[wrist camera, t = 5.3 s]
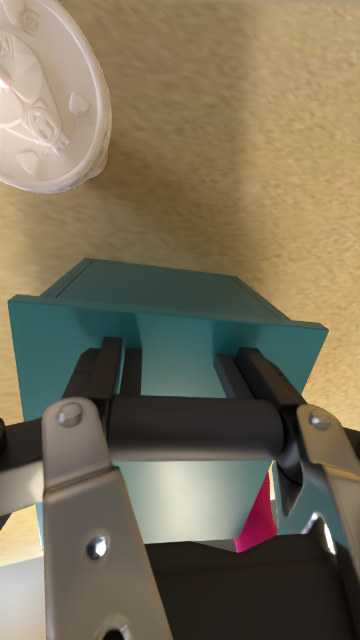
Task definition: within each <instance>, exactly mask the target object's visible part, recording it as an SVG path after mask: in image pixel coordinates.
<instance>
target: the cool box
mask: <svg viewBox="0 0 360 640" xmlns="http://www.w3.org/2000/svg"><path fill="white" fill-rule="evenodd" d="M40 296H41V297H51V298H62V299H72V300H83V301H93V302H104V303H115V304H125V305H136V306H146V307H157V308H167V309H178V310H188V311H199V312H209V313H220V314H231V315H241V316H252V317H262V318H273V319H283V320H290V319H289V318H288V317H287V316H285V315H284V314H283V313H282V312H280V311H279V310H278V309H277V308H275V307H274V306H273V305H272V304H270V303H269V302H268V301H267V300H265V299H264V298H263V297H262V296H260V295H259V294H258V293H257V292H255V291H254V290H253V289H252V288H250V287H249V286H248V285H247V284H245V283H244V282H243V281H242V280H240V279H239V278H238V277H237V276H229V275H221V274H213V273H204V272H196V271H188V270H180V269H172V268H164V267H155V266H147V265H139V264H131V263H123V262H114V261H106V260H98V259H90V258H84V259H83V260H82V261H81V262H79V263H78V264H77V265H76V266H75V267H73V268H72V269H71V270H70V271H69V272H67V273H66V274H65V275H64V276H63V277H61V278H60V279H59V280H58V281H57V282H56V283H54V284H53V285H52V286H51V287H50V288H48V289H47V290H46V291H45V292H44V293H42V294H41V295H40Z"/></svg>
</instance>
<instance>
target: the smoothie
mask: <svg viewBox="0 0 360 640" xmlns="http://www.w3.org/2000/svg"><path fill="white" fill-rule="evenodd" d="M111 123H112V111H111V104H110V96H109V89H108V86H107V84H106V81H105V78H104V75H103V72H102V69H101V66H100V63H99V61H98V60H97V58H96V56H95V54H94V52H93V50H92V48H91V46H90V44H89V42H88V40H87V39H86V37H85V35H84V34H83V32H82V30H81V29H80V27H79V26H78V24H77V23H76V22H75V21H74V19H73V18H72V17H71V15H70V14H69V13H68V12H67V11H66V10H65V9H64V8H63V7H62V5H61V4H59V3H58V2H57V1H56V0H0V181H1V182H3V183H5V184H8V185H10V186H13V187H16V188H19V189H21V190H25V191H30V192H34V193H39V194H53V193H62V192H65V191H68V190H71V189H73V188H76V187H78V186H80V185H81V184H82V183H83V182H85V181H86V180H87V179H89V178H93V177H95V176H97V175H99V174H100V173H101V172H102V171H103V169H104V168H105V166H106V163H107V159H108V144H109V141H110V135H111Z"/></svg>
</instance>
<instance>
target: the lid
mask: <svg viewBox="0 0 360 640" xmlns="http://www.w3.org/2000/svg"><path fill="white" fill-rule="evenodd" d="M8 309H9V316H10V323H11V330H12V338H13V345H14V352H15V359H16V367H17V374H18V381H19V388H20V395H21V403H22V410H23V417H24V422H27V421H31V420H34V419H37V418H40V417H42V416H43V414H44V412H45V411H46V409H47V408H48V407H49V406H51V405H52V404H53V403H55V402H57V401H59V400H61V398H62V395H63V393H64V391H65V389H66V386H67V384H68V382H69V380H70V377H71V375H72V373H73V372H74V368H75V366H76V365H77V362H78V359H79V357H80V355H81V354H82V353H83V352H85V351H86V350H87V349H88V348H101V345H102V342H103V339H104V337H116V338H122V339H123V341H122V358H121V373H120V382H119V389H118V394H115V395H114V396H113V398H112V402H111V407H110V412H109V419H108V427H107V436H106V442H107V445H108V449H109V452H110V456H111V459H112V463H113V465H114V466H119V468H120V470H121V472H122V475H123V478H124V481H125V484H126V487H127V491H128V494H129V497H130V500H131V504H132V507H133V510H134V513H135V517H136V520H137V523H138V526H139V530H140V533H141V536H142V539H143V543H144V544H149V543H164V542H179V541H202V540H217V539H233V538H239V536H240V534H241V532H242V529H243V527H244V525H245V522H246V520H247V518H248V516H249V513H250V511H251V509H252V506H253V504H254V502H255V499H256V497H257V495H258V493H259V490H260V488H261V486H262V483H263V481H264V479H265V476H266V474H267V472H268V470H269V467H270V465H271V463H272V460H275V459H277V458H278V457H279V456H280V454H281V452H282V448H283V443H284V432H283V425H282V421H281V417H280V415H279V412H278V410H277V409H276V407H275V406H274V404H273V403H271V402H270V401H268V400H266V399H254V397H253V395H252V393H251V391H250V390H249V388H248V386H247V384H246V382H245V381H244V379H243V377H242V375H241V373H240V372H239V370H238V368H237V366H236V364H235V363H234V361H235V358H236V354H237V351H238V349H239V347H252V348H258V349H259V350H260V352H261V353H262V354H263V356H264V357H265V358H266V359H268V360H269V361H271V362H272V363H274V364H275V365H276V366H278V367H279V369H280V370H281V371H282V372H283V374H284V376H286V377H287V379H288V380H289V382H290V383H292V385H293V386H294V387H295V388H296V390H297V391H298V392H299V393H300V395H301V394H302V391H303V389H304V387H305V384H306V382H307V380H308V378H309V375H310V373H311V371H312V368H313V366H314V364H315V361H316V359H317V357H318V355H319V352H320V350H321V348H322V345H323V343H324V341H325V338H326V336H327V334H328V332H329V329H327V328H326V327H324V326H323V325H321V324H320V323H315V322H304V321H294V320H283V319H273V318H262V317H252V316H241V315H231V314H220V313H209V312H199V311H188V310H178V309H167V308H157V307H146V306H136V305H125V304H115V303H104V302H93V301H83V300H72V299H62V298H51V297H41V296H30V295H20V294H17V295H15V296H14V297H12V298H11V299H9V300H8ZM36 511H37V518H38V526H39V533H40V540H41V547H42V551H44V541H43V502H40V503H37V504H36Z"/></svg>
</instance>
